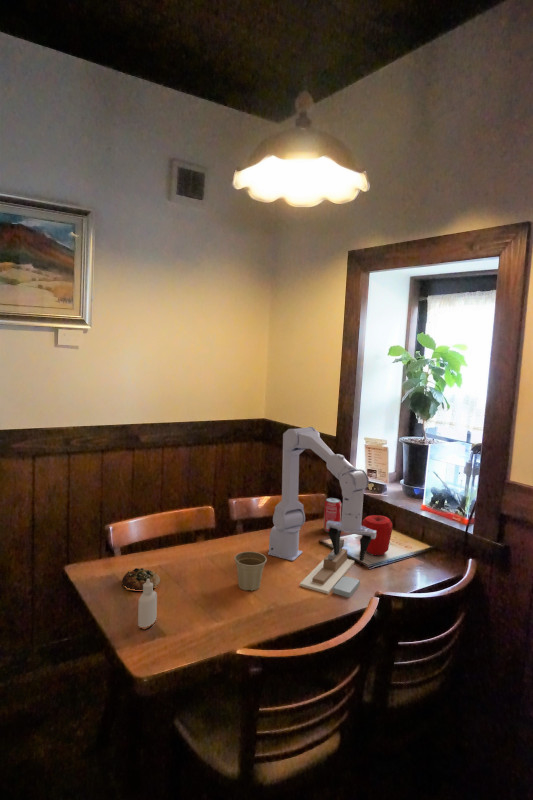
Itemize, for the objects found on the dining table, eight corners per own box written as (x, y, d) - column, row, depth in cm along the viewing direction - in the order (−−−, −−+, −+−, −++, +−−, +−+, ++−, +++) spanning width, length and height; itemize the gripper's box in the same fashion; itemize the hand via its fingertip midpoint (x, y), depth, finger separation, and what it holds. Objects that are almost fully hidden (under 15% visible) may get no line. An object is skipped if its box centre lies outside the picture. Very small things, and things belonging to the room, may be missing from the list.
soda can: (322, 532, 198) (324, 501, 197) (323, 526, 205) (325, 496, 203) (339, 534, 197) (341, 503, 196) (340, 528, 204) (342, 498, 202)
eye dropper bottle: (133, 624, 132) (133, 579, 131) (152, 617, 136) (153, 572, 135) (141, 632, 129) (142, 585, 128) (161, 624, 133) (162, 579, 131)
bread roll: (113, 588, 150) (115, 570, 150) (135, 576, 161) (137, 560, 160) (146, 598, 146) (148, 580, 146) (167, 586, 157) (169, 569, 157)
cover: (332, 594, 153) (333, 587, 153) (343, 582, 161) (344, 575, 161) (349, 599, 151) (349, 592, 150) (359, 586, 159) (359, 580, 158)
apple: (376, 544, 189) (379, 508, 188) (396, 555, 181) (400, 517, 179) (353, 549, 184) (356, 512, 182) (373, 561, 175) (376, 522, 174)
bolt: (326, 558, 165) (327, 546, 165) (336, 548, 173) (337, 537, 173) (333, 560, 164) (334, 548, 164) (343, 550, 172) (344, 538, 172)
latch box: (299, 586, 156) (300, 572, 156) (328, 556, 177) (329, 544, 177) (328, 594, 152) (329, 580, 152) (354, 563, 173) (355, 550, 173)
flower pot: (269, 582, 158) (271, 554, 156) (259, 597, 149) (260, 567, 148) (240, 576, 161) (241, 549, 160) (228, 590, 152) (229, 561, 151)
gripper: (323, 510, 152) (320, 555, 154) (372, 521, 146) (369, 567, 148) (332, 504, 159) (329, 547, 161) (379, 513, 152) (376, 558, 154)
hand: (349, 556), depth 155 cm, fingers open, 7 cm apart
